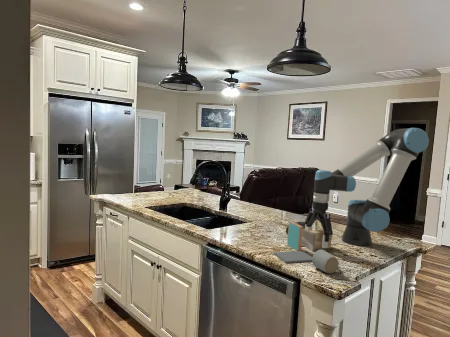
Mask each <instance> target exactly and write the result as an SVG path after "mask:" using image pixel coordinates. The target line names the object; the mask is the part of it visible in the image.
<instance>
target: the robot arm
mask: <svg viewBox="0 0 450 337" xmlns="http://www.w3.org/2000/svg"><path fill="white" fill-rule="evenodd" d="M429 142H430V139H429V137H428V134H427V132H426V131H425V130H423V129H421V128H420V127H419V128H418V127H410V128H398V129H397V128H396V129H394V130H392V131H390V132H389V133H387V134H386V135H384V136H383V137H381V138H380V139H378V140H377V141H376V144H374V145H373V146H371V147H370V148H368V149H367V150H365V151H363V152H361V153H360V154H359V155H357V156H355V157H354V158H353V159H351V160H349V161H348V162H346V163H345V164H343V165H342V166H340V167H339V168H337V169H336V170H334V171H331V170H322V169H317V170H316V171H315V175H314V188H313V197H312V200H313V201H312V204H311V207H310V208H309V209H308V213H307V216H306V218H305V219H304V220H305V221H304V222H305V227H306V230H307V231H312V230H313V225H314V224H315V223H316V222H317V221H319V223H320V225H321V228H322V230H323V231H324V234H323V242H322V248H321V249H329V248H328V242H329V235H332V236H333V235H334V232H333V226H332V221H331V214H330V213H326V212H327V211H328V210H329V201H330V191H335V192H336V191H338V192H353V191H355V190H356V186H357V182H356V178H355V177H354V176H355V175H357V174H359V173H361V172H362V171H364V170H365V169H367V168H368V167H370V166H371V165H373V164H374V163H376V162H377V161H380V160H381V159H382V158H384V157H385V156H386V157H388V156H389V157H390V155H391V157H390V159H389V161H388V163H387V164H386V168H385V169H384V170H383V174H382V175H381V177H380V179H379V181H378V183H377V185H376V188H375V189H374V192H373V193H372V196H371V197H368V198H366V200H364V199H350V200H349V201H348V204H347V218H346V227H345V229H344V231H343V233H342V235H341V240H342V241H343V242H344V243H347V244H350V245H354V246H361V247H368V246H372V244H373V239H372V235H371V232H376V233H377V232H381V231H382V232H383V231H384V230H385V229H386V228H387V227H388V226H389V225H390V220H391V219H390V214H389V213H390V211H391V207H390V204H391V202H392V200H393V198H394V195H395V194H396V192H397V189H398V187H399V186H400V184H401V182H402V180H403V178H404V176H405V173H406V172H407V169H408V167H409V166H410V164H411V162H412V161H414V160H417V158H418V156H419V154H420V153H422V152H424V151H425V150H427V148H428V146H429Z"/></svg>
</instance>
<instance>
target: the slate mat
mask: <svg viewBox="0 0 450 337" xmlns="http://www.w3.org/2000/svg"><path fill="white" fill-rule="evenodd" d="M272 253H273V255H274V256H275V257H276V256H277V257H276V258H278V259H279V260H280V259H281V260H280V261H281V262H283V261H284V262H283V263H284V264H293V263H297V264H298V263H307V262H309V263H310V262H312V258H313V256H312V255H309V254H308V253H306V252H304V251H303V250H301V251H296V250H294V251H279V252H276V251H275V252H272Z"/></svg>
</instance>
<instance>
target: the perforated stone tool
mask: <svg viewBox="0 0 450 337" xmlns="http://www.w3.org/2000/svg"><path fill="white" fill-rule="evenodd" d="M294 223H296V224H298V225H300V226H302V227H303V229H305V230H306V224H305V221H297V222H294ZM288 229H289V224H288V225H287V226H286V228H285V233H286V235H288Z"/></svg>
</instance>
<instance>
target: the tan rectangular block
mask: <svg viewBox="0 0 450 337" xmlns="http://www.w3.org/2000/svg"><path fill="white" fill-rule="evenodd" d="M323 234H324V231H323V229H319V230H318V229H317V230H313V229H312V231H307V229H306V228H305V229H303V232H302V244H301V247H305V248H306V249H308V250H310V251H311V252H314V251H315V249H316V250H317V249H318V250H319V249H323V248H322V242H323ZM332 239H333V235H329V242H328V248H327V249H331V248H332Z"/></svg>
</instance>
